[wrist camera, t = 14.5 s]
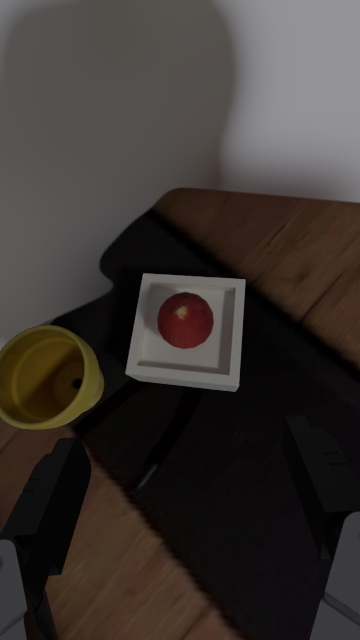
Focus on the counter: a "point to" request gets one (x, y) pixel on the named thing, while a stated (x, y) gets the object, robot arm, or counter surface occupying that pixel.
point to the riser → (194, 363)
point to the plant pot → (47, 378)
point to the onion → (185, 320)
